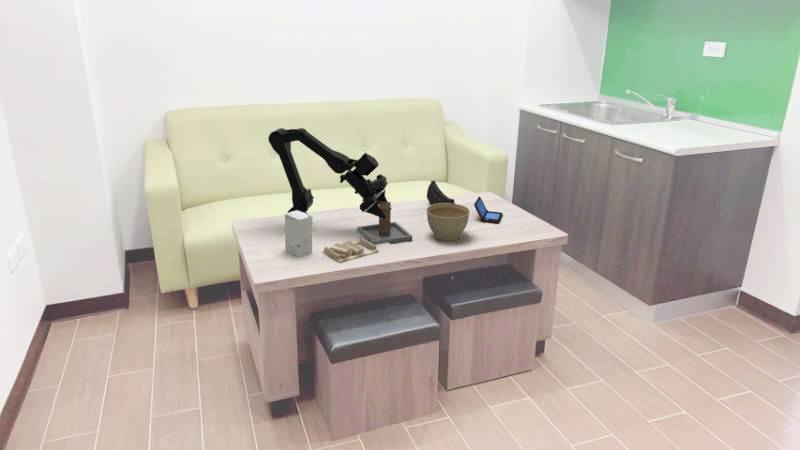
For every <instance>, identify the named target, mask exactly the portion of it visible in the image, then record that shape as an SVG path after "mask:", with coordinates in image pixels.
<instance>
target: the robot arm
mask: <svg viewBox="0 0 800 450" xmlns="http://www.w3.org/2000/svg"><path fill="white" fill-rule="evenodd" d="M296 141H297V142H300V143H301V144H302V145H304V146H305V147H307V148H308V149H309V150H310V151H312V152H313V153H315V155H318V156H319V157H320V158H321V159H323V161H325V163H326V165H327V166H328V168H330V169H331V170H332V171H333V172H334V173H335V174H338V175H339V179H340V180H339V183H340V184H342V183H343V182H344V181H346V183H348V185H350V187H352V189H354V190H355V191H354V194H356V195H359V197H360V198H361V199H362V200H361V201H362V202H361V203H360V204H359V210H360V211H361V212H362V213H368V214H370V215H374V216H375V217H378V218H379V217H380V218H383V219H385V218H386V215H385V214H384V212H383V211H382V210H381V208H380V207H379V202H380V201H383V202H389V201H388V199H387V198H386V187H387V185H389V184H388V182H387V177H385V175H383V174H382V173H379V174H378V175H376V179H374V180H371V179H369V178H367V179H366V178H365V177H364V176H367V177H368V176H369V175H371V173H373V171H375V170H376V169H377V168H378V167H379V162H378V161H377V159H376V158H375V157H373V156H372V155H371V154H368V153H367V152H364V153H363V154H362V155H361V157H360V158H359V159H353V158H350V157H349V156H348V155H346V154H343V153H342V152H339V151H336V150H333V149H332V148H330V147H329V146H327V145H326V144H325V143H323V142H322V141H320V140H319V139H318V138H316V137H315V136H314V135H312V134H311V133H310V132H308V131H307V130H306V128H303V127H300V128H290V129H285V128H282V127H281V128H277V129H275V130H274V131H272V132H270V134H269V135H268V143H269V144H270V146H271V148H272V150H273V151H274V152H275V153H276V154H277V155H278V157H279V160H280V162H281V165H282V168H283V170H284V173H285V176H286V178H287V181H288V183H289V186H290V189H291V201H292V207H291V208H289V210H288V211H287V213H289V212H293V211H296V210H298V211H300V212H304V213H306V214H308V211H309V208H311V207H312V206H313V205H314V204H313V203H314V198H315V197H314V196H313V194H312V190H311V188H308V189H307V188H306V187H305V186H304V184H303V181H302V178H301V176H300V172H299V170H298V166H297V164H296V161H295V159H294V156H293V153H292V150H291V149H292V142H296Z"/></svg>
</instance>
